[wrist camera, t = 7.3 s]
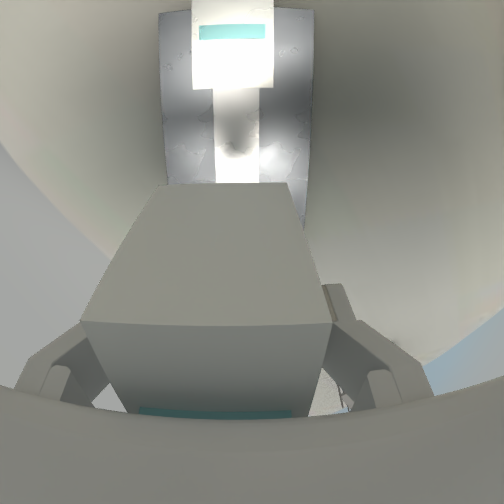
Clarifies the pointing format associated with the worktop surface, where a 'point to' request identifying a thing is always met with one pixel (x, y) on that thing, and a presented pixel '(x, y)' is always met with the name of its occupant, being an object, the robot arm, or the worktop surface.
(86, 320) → the block
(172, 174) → the rail plate
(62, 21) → the worktop surface
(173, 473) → the robot arm
